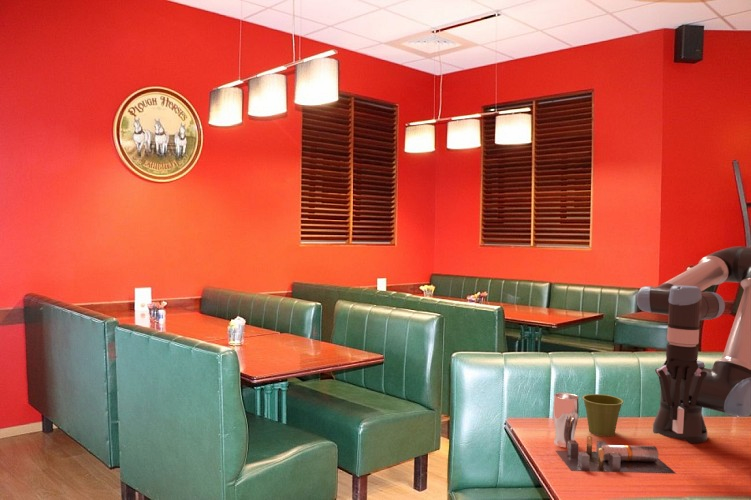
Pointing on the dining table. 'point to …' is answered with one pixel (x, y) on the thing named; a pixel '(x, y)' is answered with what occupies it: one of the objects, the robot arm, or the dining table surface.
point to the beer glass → (565, 418)
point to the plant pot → (602, 413)
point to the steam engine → (598, 464)
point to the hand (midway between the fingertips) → (677, 431)
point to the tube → (632, 452)
